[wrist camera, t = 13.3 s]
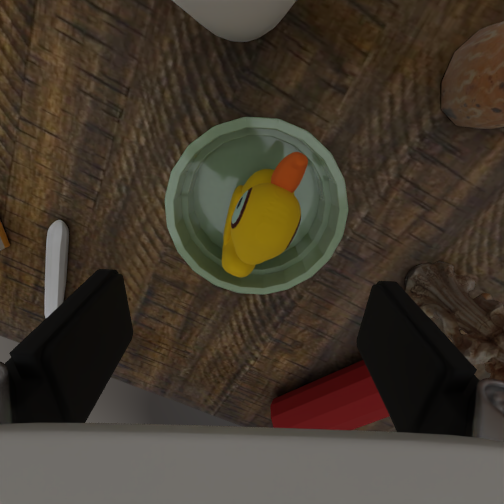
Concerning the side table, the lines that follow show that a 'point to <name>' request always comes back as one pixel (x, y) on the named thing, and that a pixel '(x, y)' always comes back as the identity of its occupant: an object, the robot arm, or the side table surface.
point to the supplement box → (3, 238)
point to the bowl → (237, 173)
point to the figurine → (461, 313)
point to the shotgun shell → (331, 402)
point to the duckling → (263, 216)
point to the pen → (56, 265)
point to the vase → (476, 81)
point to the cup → (237, 16)
